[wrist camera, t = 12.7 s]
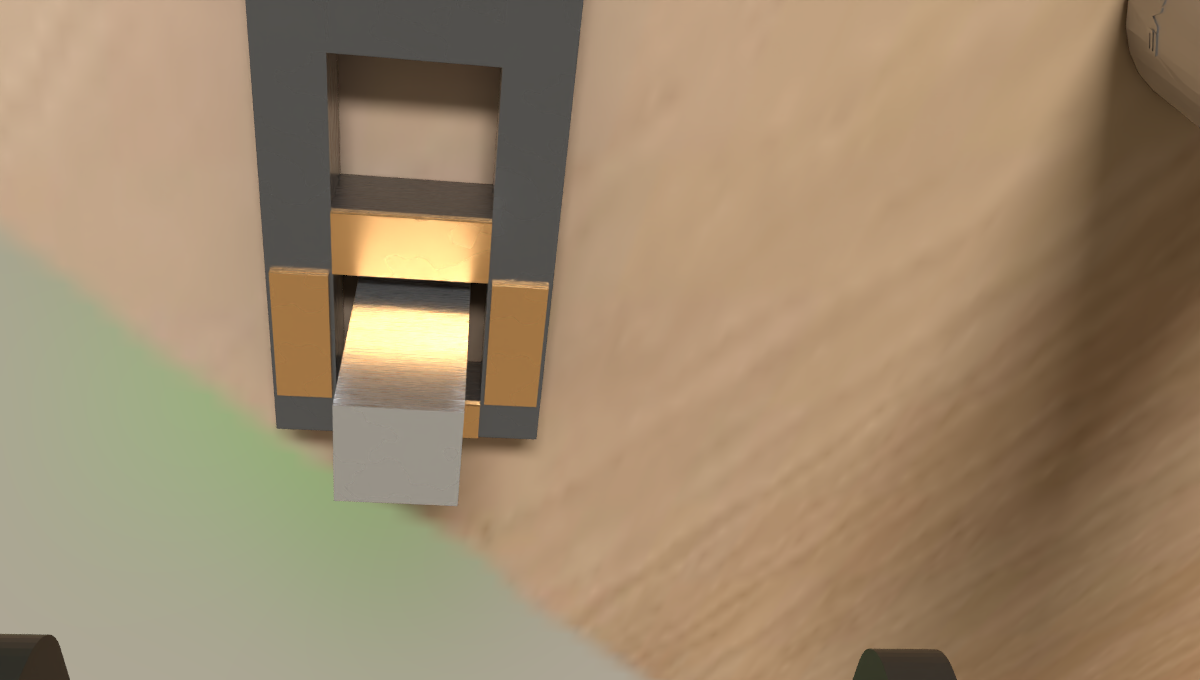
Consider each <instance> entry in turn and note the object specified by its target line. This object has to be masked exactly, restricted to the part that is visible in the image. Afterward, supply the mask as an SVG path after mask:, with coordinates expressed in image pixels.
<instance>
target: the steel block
mask: <svg viewBox="0 0 1200 680" xmlns="http://www.w3.org/2000/svg"><path fill="white" fill-rule="evenodd" d="M470 289H471V282H455V281H438V280H421V279H405V278H388V277H371V276H359V280H358V285H357V289H356V294H355V299H354V304H353V309H352V313H351V318H350V323H349V328H348V333H347V338H346V342H345V347H344V352H343V357H342V362H341V366H340V371H339V376H338V381H337V386H336V391H335V395H334V400H333V405H332V410H333V470H334V500H335V501H354V502H377V503H400V504H423V505H446V506H458V492H459V478H460V465H461V451H462V438H463V424H464V409H465V389H466V369H467V349H468V329H469V309H470Z"/></svg>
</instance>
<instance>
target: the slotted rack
mask: <svg viewBox="0 0 1200 680" xmlns="http://www.w3.org/2000/svg"><path fill="white" fill-rule="evenodd" d="M582 8H583V0H246V14H247V28H248V41H249V55H250V69H251V83H252V96H253V110H254V124H255V137H256V151H257V165H258V178H259V192H260V206H261V219H262V233H263V247H264V260H265V274H266V288H267V301H268V315H269V329H270V342H271V356H272V370H273V383H274V397H275V411H276V425H277V428H278V429H302V430H326V431H333V410H332V405H333V400H334V395H335V391H336V386H337V381H338V376H339V371H340V366H341V362H342V357H343V352H344V347H345V346H344V306H343V275H354V276H371V277H388V278H405V279H421V280H438V281H455V282H472V283H487V286H486V301H485V316H484V332H483V347H482V362H467V369H466V389H465V409H464V424H463V438H478V437H492V438H516V439H536V437H537V427H538V418H539V409H540V399H541V390H542V381H543V372H544V362H545V353H546V344H547V334H548V325H549V316H550V306H551V297H552V288H553V278H554V269H555V260H556V251H557V241H558V232H559V223H560V213H561V204H562V195H563V185H564V176H565V167H566V157H567V148H568V139H569V130H570V120H571V111H572V102H573V92H574V83H575V74H576V64H577V55H578V46H579V36H580V27H581V18H582ZM337 54H348V55H360V56H372V57H383V58H395V59H407V60H419V61H431V62H443V63H454V64H466V65H478V66H490V67H501V73H500V88H499V103H498V118H497V134H496V149H495V164H494V179H493V185H490V184H476V183H462V182H448V181H434V180H420V179H405V178H391V177H377V176H363V175H349V174H340V144H339V104H338V64H337Z"/></svg>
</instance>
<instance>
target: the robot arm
mask: <svg viewBox="0 0 1200 680" xmlns="http://www.w3.org/2000/svg"><path fill="white" fill-rule="evenodd" d="M1126 31H1127V38H1128V45H1129V52H1130V54H1131V56H1132V59H1133V61H1134V63H1135V66H1136V68H1137V70H1138V73H1139V74H1140V75H1141V76H1142V78H1143V79H1144V80H1145V81H1146V82H1147V84H1148V85H1149V86H1150V87H1151V88H1152V90H1154V91H1155V92H1156V93H1157V94H1158V95H1160V96H1161V97H1162V98H1163V99H1165V100H1166V101H1167V102H1168V103H1170V104H1171V105H1172V106H1173V107H1174V108H1176V109H1177V110H1178V111H1179V112H1181V113H1182V114H1183V115H1184V116H1186V117H1187V118H1188V119H1189V120H1191V121H1192V122H1193V123H1194V124H1195V125H1197V126H1198V127H1199V128H1200V0H1128V9H1127V20H1126ZM0 680H70V678H69V675H68V672H67V669H66V666H65V662H64V658H63V655H62V652H61V649H60V646H59V643H58V641H57V640H56V638H55V637H54V636H52V635H33V634H0ZM853 680H957V679H956V676H955V674H954V671H953V669H952V666H951V664H950V662H949V661H948V659H947V657H946V656H945V655H944V654H943V653H942V652H941V651H939V650H928V649H867V650H865V651H864V653H863V654H862V656H861V658H860V660H859V663H858V666H857V669H856V672H855V675H854V677H853Z"/></svg>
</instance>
